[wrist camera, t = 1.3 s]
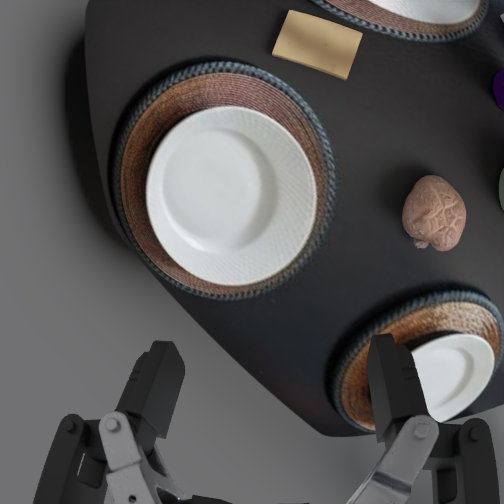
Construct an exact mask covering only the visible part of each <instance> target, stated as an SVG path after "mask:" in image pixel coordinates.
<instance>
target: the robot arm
mask: <svg viewBox="0 0 504 504" xmlns="http://www.w3.org/2000/svg"><path fill="white" fill-rule="evenodd" d="M367 374H368V380H369V386H370V392H371V399H372V406H373V413H374V420H375V428H376V436H377V443H379V442H385V447H386V451H385V452H384V453H383V455H382V456H381V458H380V459H379V461H378V463H377V464H376V465H375V467H374V468H373V470H372V471H371V472H370V474H369V475H368V477H367V478H366V479H365V481H364V482H363V484H362V485H361V486H360V487H359V489H358V490H357V491H356V492H355V493H354V495H353V496H352V497H351V498H350V499H349V500H348V502H347V503H346V504H404V503H405V502H406V500H407V499H408V497H409V495H410V493H411V487H412V485H413V483H414V481H415V480H416V478H417V476H418V475H419V473H420V471H421V470H432V486H433V504H500V499H499V485H498V476H497V468H496V460H495V454H494V448H493V443H492V438H491V433H490V429H489V426H488V424H487V423H486V422H485V421H484V420H482V419H479V418H473V419H469V420H468V421H466V422H465V423H464V424H463V425H458V424H443V423H440V422H438V421H436V420H434V419H433V418H432V417H431V415H430V414H429V412H428V410H427V406H426V402H425V398H424V394H423V390H422V387H421V383H420V379H419V377H418V372H417V369H416V368H415V362H414V359H413V356H412V354H411V353H410V351H409V350H408V349H407V348H406V347H405V345H400V346H396V345H395V342H394V338H393V336H392V334H391V333H388V334H380V335H373V336H372V338H371V343H370V348H369V352H368V357H367ZM184 375H185V365H184V362H183V360H182V358H181V356H180V355H179V352H178V350H177V348H176V346H175V344H174V343H173V342H172V341H155V342H153V344H152V346H151V348H150V351H149V352H144V353H143V354H142V355H141V357H139V359H138V360H137V361H136V363H135V366H134V368H133V372H132V373H131V375H130V377H129V380H128V382H127V384H126V386H125V389H124V391H123V393H122V396H121V398H120V401H119V403H118V405H117V408H116V409H115V411H113V412H109V413H108V414H106V415H104V416H103V418H102V419H99V420H83V419H82V418H81V417H80V416H78V415H76V414H69V415H67V416H65V417H64V418H63V419H62V421H61V422H60V425H59V427H58V430H57V432H56V435H55V437H54V440H53V443H52V446H51V448H50V451H49V454H48V457H47V460H46V463H45V465H44V469H43V471H42V474H41V478H40V481H39V484H38V487H37V491H36V494H35V498H34V501H33V504H103V503H104V499H105V495H106V491H107V486H109V489H110V492H111V494H112V497H113V500H114V503H115V504H232V503H229V502H226V501H223V500H221V499H214V498H208V497H202V496H196V495H193V496H192V499H186V498H185V497H184V494H183V493H182V491H181V489H180V488H179V487H178V485H177V484H176V483H175V482H174V481H173V480H172V478H171V476H170V474H169V472H168V470H167V468H166V466H165V464H164V462H163V460H162V458H161V455H160V453H159V451H158V448H157V446H156V444H155V440H156V437H159V438H164V439H166V435H167V432H168V429H169V425H170V422H171V418H172V415H173V412H174V408H175V405H176V402H177V398H178V395H179V392H180V389H181V385H182V382H183V379H184ZM83 453H84V454H85V456H84V459H83V462H82V466H81V469H80V472H79V475H78V476H77V473H78V469H79V466H80V463H81V460H82V457H83ZM304 504H309V503H304Z"/></svg>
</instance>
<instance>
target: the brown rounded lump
mask: <svg viewBox="0 0 504 504" xmlns="http://www.w3.org/2000/svg"><path fill="white" fill-rule="evenodd" d="M402 221H403V222H402V223H403V226H404V229H405V230H406V232H407V233H408V234H409V235H410V236H412V237H414V245H415V246H416V247H417V248H426V247H427V245H428V243H431V244H432V246H433V247H434V248H436V250H440V251H447V250H450V249H452V248H453V247H454V246H455V245H456V244H457V243H458V241H459V239H460V236H461V234H462V230H463V228H464V225H465V222H466V210H465V206H464V203H463V200H462V198H461V197H460V195H459V194H458V193H457V192H456V190H454V189H453V187H452V186H450V185H449V183H448V182H446V181H445V180H443V179H442V178H441V177H440V176H436V175H429V176H425V177H423V178H421V179H420V180H419V181H418V182H417V183H416V184H415V186H414V188H413V189H412V191H411V193H410V194H409V195H408V196H407V198H406V201H405V205H404V208H403V213H402Z"/></svg>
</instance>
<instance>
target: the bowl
mask: <svg viewBox="0 0 504 504" xmlns="http://www.w3.org/2000/svg"><path fill="white" fill-rule="evenodd" d="M499 199H500V203H501V206H502V208H503V210H504V168H503V170H502V172H501V176H500V181H499Z"/></svg>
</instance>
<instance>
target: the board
mask: <svg viewBox="0 0 504 504" xmlns="http://www.w3.org/2000/svg"><path fill="white" fill-rule="evenodd" d="M362 34H363V33H360V32H358V31H355V30H353V29H350V28H347V27H345V26H342V25H339V24H336V23H333V22H330V21H327V20H324V19H321V18H318V17H314V16H311V15H308V14H304V13H300V12H296V11H293V10H289V12H288V15H287V17H286V19H285V22H284V24H283V27H282V29H281V32H280V34H279V37H278V39H277V42H276V44H275V47H274V49H273V52H272V55H273V56H275V57H279V58H282V59H286V60H289V61H292V62H295V63H299V64H302V65H305V66H308V67H311V68H314V69H317V70H319V71H322V72H325V73H328V74H330V75H333V76H335V77H338V78H341V79H343V80H346V79H347V76H348V74H349V71H350V68H351V65H352V63H353V60H354V57H355V54H356V51H357V49H358V46H359V43H360V40H361V37H362Z"/></svg>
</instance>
